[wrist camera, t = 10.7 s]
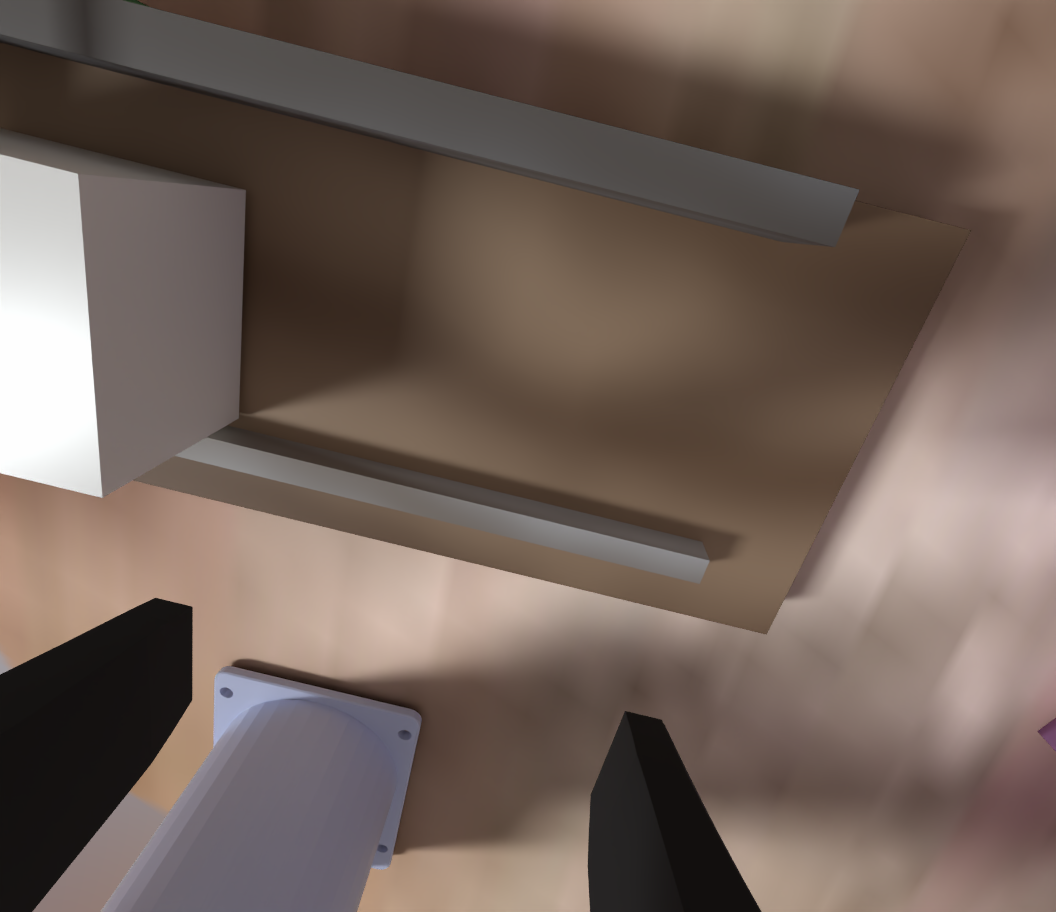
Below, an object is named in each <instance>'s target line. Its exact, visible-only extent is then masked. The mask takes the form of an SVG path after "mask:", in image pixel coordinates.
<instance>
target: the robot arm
mask: <svg viewBox="0 0 1056 912" xmlns="http://www.w3.org/2000/svg"><path fill="white" fill-rule="evenodd" d="M191 701H192V607H191V606H187V605H183V604H179V603H175V602H170V601H166V600H162V599H158V598H154V599H152V600H150V601H148V602H146V603H144V604H142V605H139V606H137V607H135V608H133V609H131V610H129V611H127V612H125V613H123V614H121V615H119V616H117V617H115V618H113V619H111V620H109V621H107V622H105V623H103V624H101V625H99V626H97V627H95V628H93V629H91V630H89V631H87V632H85V633H83V634H81V635H79V636H77V637H75V638H73V639H71V640H70V641H68V642H66V643H64V644H62V645H60V646H58V647H56V648H53V649H51V650H49V651H47V652H45V653H43V654H41V655H39V656H37V657H35V658H33V659H31V660H29V661H27V662H25V663H23V664H21V665H19V666H17V667H15V668H13V669H11V670H9V671H7V672H5V673H3V674H1V675H0V912H32V911H33V910H34V909H35V908H36V906H37V905H38V904H39V903H40V901H41V900H42V899H43V898H44V897H45V895H46V894H47V893H48V892H49V890H50V889H51V888H52V887H53V885H54V884H55V883H56V882H57V880H58V879H59V878H60V877H61V875H62V874H63V873H64V872H65V870H66V869H67V868H68V867H69V865H70V864H71V863H72V862H73V860H74V859H75V858H76V857H77V855H78V854H79V853H80V852H81V851H82V850H83V848H84V847H85V846H86V845H87V843H88V842H89V841H90V839H91V838H92V837H93V836H94V835H95V833H96V832H97V831H98V830H99V829H100V827H101V826H102V825H103V824H104V822H105V821H106V820H107V819H108V817H109V816H110V815H111V814H112V812H113V811H114V810H115V809H116V807H117V806H118V805H119V804H120V802H121V801H122V800H123V799H124V797H125V796H126V795H127V794H128V792H129V791H130V790H131V789H132V787H133V786H134V785H135V784H136V782H137V781H138V780H139V779H140V777H141V776H142V775H143V773H144V772H145V771H146V770H147V768H148V767H149V766H150V765H151V763H152V762H153V760H154V759H155V757H156V756H157V754H158V753H159V751H160V750H161V748H162V747H163V745H164V744H165V742H166V741H167V739H168V738H169V736H170V735H171V733H172V732H173V730H174V728H175V727H176V725H177V724H178V722H179V720H180V719H181V717H182V716H183V714H184V712H185V711H186V709H187V708H188V706H189V704H190V703H191ZM421 722H422V719H421V716H420V714H419V713H418V712H416V711H415V710H412V709H409V708H405V707H400V706H396V705H392V704H388V703H384V702H379V701H375V700H371V699H367V698H363V697H359V696H354V695H350V694H346V693H342V692H338V691H333V690H329V689H325V688H321V687H317V686H312V685H308V684H304V683H300V682H296V681H291V680H287V679H283V678H279V677H275V676H270V675H266V674H262V673H258V672H254V671H250V670H245V669H241V668H237V667H233V666H226V667H223V668H222V669H220V671H219V672H218V673H217V674H216V676H215V683H214V746H213V749H212V751H211V752H210V753H209V755H208V756H207V758H206V759H205V761H204V762H203V764H202V765H201V767H200V768H199V769H198V771H197V772H196V774H195V775H194V777H193V778H192V780H191V781H190V782H189V784H188V785H187V787H186V788H185V790H184V791H183V793H182V794H181V796H180V797H179V798H178V800H177V801H176V803H175V804H174V806H173V807H172V809H171V810H170V811H169V813H168V814H167V816H166V817H165V819H164V820H163V822H162V823H161V824H160V826H159V828H158V829H157V830H156V832H155V833H154V835H153V836H152V838H151V839H150V840H149V842H148V843H147V845H146V846H145V848H144V849H143V851H142V852H141V854H140V855H139V857H138V858H137V859H136V861H135V862H134V864H133V865H132V867H131V868H130V869H129V871H128V872H127V874H126V875H125V877H124V878H123V880H122V881H121V882H120V884H119V885H118V887H117V888H116V890H115V891H114V893H113V894H112V896H111V897H110V899H109V900H108V901H107V903H106V904H105V906H104V907H103V909H102V910H101V911H100V912H357V910H358V907H359V903H360V900H361V897H362V894H363V891H364V888H365V885H366V881H367V878H368V875H369V872H370V869H371V868H375V869H386V868H387V867H389V865H390V863H391V860H392V856H393V852H394V847H395V842H396V838H397V833H398V828H399V824H400V819H401V815H402V810H403V805H404V801H405V796H406V791H407V787H408V782H409V778H410V773H411V768H412V764H413V759H414V754H415V750H416V745H417V741H418V736H419V731H420V727H421ZM405 730H407V731H405ZM588 879H589V898H590V912H761V910H760V908H759V907H758V905H757V903H756V901H755V899H754V898H753V896H752V894H751V892H750V891H749V889H748V887H747V885H746V883H745V882H744V880H743V878H742V876H741V874H740V873H739V871H738V869H737V867H736V865H735V863H734V861H733V860H732V858H731V856H730V854H729V852H728V850H727V848H726V847H725V845H724V843H723V841H722V839H721V837H720V835H719V834H718V832H717V830H716V828H715V826H714V824H713V822H712V820H711V818H710V816H709V814H708V812H707V810H706V808H705V806H704V804H703V802H702V800H701V798H700V796H699V794H698V792H697V790H696V788H695V786H694V785H693V783H692V780H691V778H690V776H689V774H688V772H687V770H686V768H685V766H684V764H683V762H682V760H681V758H680V756H679V754H678V752H677V750H676V748H675V745H674V743H673V741H672V739H671V737H670V735H669V733H668V731H667V729H666V727H665V725H664V723H663V722H662V720H660V719H656V718H652V717H648V716H643V715H639V714H635V713H631V712H627V711H625V713H624V715H623V718H622V720H621V723H620V725H619V727H618V730H617V732H616V735H615V737H614V740H613V742H612V745H611V747H610V749H609V752H608V754H607V757H606V759H605V762H604V764H603V766H602V769H601V771H600V774H599V776H598V779H597V781H596V784H595V786H594V788H593V791H592V793H591V802H590V822H589V846H588Z"/></svg>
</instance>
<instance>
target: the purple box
mask: <svg viewBox="0 0 1056 912" xmlns="http://www.w3.org/2000/svg"><path fill="white" fill-rule="evenodd" d="M1038 732H1039V734H1040V735H1041V736H1042V737H1043V738H1044V739H1045V740H1046V741H1047V742H1048V744H1049V745H1050V746H1051V747H1052V748H1053V749H1054V750H1055V751H1056V718H1055V719H1054V720H1052V721H1051V722H1049V723H1048V724H1047V725H1045V726H1044V727H1043V728H1041V729H1040V730H1038Z"/></svg>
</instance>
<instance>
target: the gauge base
mask: <svg viewBox="0 0 1056 912" xmlns="http://www.w3.org/2000/svg"><path fill="white" fill-rule="evenodd" d="M0 128H2V129H6V130H10V131H14V132H18V133H22V134H26V135H30V136H34V137H38V138H42V139H46V140H50V141H54V142H58V143H61V144H65V145H69V146H73V147H77V148H81V149H85V150H89V151H93V152H97V153H101V154H105V155H109V156H113V157H117V158H121V159H125V160H129V161H133V162H137V163H141V164H145V165H149V166H153V167H157V168H161V169H164V170H168V171H172V172H176V173H180V174H184V175H188V176H192V177H196V178H200V179H204V180H208V181H212V182H216V183H220V184H224V185H228V186H232V187H236V188H240V189H244V190H246V202H245V235H244V267H243V299H242V332H241V364H240V396H239V419H237V420H235V421H233V422H232V423H230V424H228V425H227V426H225V427H223V428H221V429H220V430H218V431H216V432H215V433H213V434H211V435H209V436H208V437H206V438H204V439H203V440H201V441H199V442H197V443H196V444H194V445H192V446H191V447H189V448H187V449H185V450H184V451H182V452H180V453H178V454H177V455H175V456H173V457H172V458H170V459H168V460H166V461H165V462H163V463H161V464H160V465H158V466H156V467H154V468H153V469H151V470H149V471H148V472H146V473H144V474H142V475H141V476H139V477H137V478H136V479H134V481H138V482H142V483H146V484H150V485H154V486H158V487H162V488H167V489H171V490H175V491H179V492H183V493H187V494H191V495H195V496H199V497H204V498H208V499H212V500H216V501H220V502H224V503H228V504H232V505H236V506H241V507H245V508H249V509H253V510H257V511H261V512H265V513H269V514H273V515H278V516H282V517H286V518H290V519H294V520H298V521H302V522H306V523H310V524H315V525H319V526H323V527H327V528H331V529H335V530H339V531H343V532H347V533H352V534H356V535H360V536H364V537H368V538H372V539H376V540H380V541H384V542H389V543H393V544H397V545H401V546H405V547H409V548H413V549H417V550H421V551H426V552H430V553H434V554H438V555H442V556H446V557H450V558H454V559H458V560H463V561H467V562H471V563H475V564H479V565H483V566H487V567H491V568H495V569H500V570H504V571H508V572H512V573H516V574H520V575H524V576H528V577H532V578H537V579H541V580H545V581H549V582H553V583H557V584H561V585H565V586H569V587H574V588H578V589H582V590H586V591H590V592H594V593H598V594H602V595H606V596H611V597H615V598H619V599H623V600H627V601H631V602H635V603H639V604H643V605H648V606H652V607H656V608H660V609H664V610H668V611H672V612H676V613H680V614H685V615H689V616H693V617H697V618H701V619H705V620H709V621H713V622H717V623H722V624H726V625H730V626H734V627H738V628H742V629H746V630H750V631H754V632H759V633H763V634H767V632H768V630H769V628H770V626H771V625H772V623H773V621H774V619H775V617H776V615H777V613H778V611H779V609H780V607H781V605H782V603H783V601H784V599H785V597H786V595H787V593H788V591H789V589H790V587H791V585H792V583H793V581H794V579H795V577H796V575H797V573H798V571H799V569H800V567H801V565H802V563H803V561H804V559H805V557H806V555H807V553H808V551H809V549H810V548H811V546H812V544H813V542H814V540H815V538H816V536H817V534H818V532H819V530H820V528H821V526H822V524H823V522H824V520H825V518H826V516H827V514H828V512H829V510H830V508H831V506H832V504H833V502H834V500H835V498H836V496H837V494H838V492H839V490H840V488H841V486H842V484H843V482H844V480H845V478H846V476H847V474H848V472H849V471H850V469H851V467H852V465H853V463H854V461H855V459H856V457H857V455H858V453H859V451H860V449H861V447H862V445H863V443H864V441H865V439H866V437H867V435H868V433H869V431H870V429H871V427H872V425H873V423H874V421H875V419H876V417H877V415H878V413H879V411H880V409H881V407H882V405H883V403H884V401H885V399H886V397H887V395H888V394H889V392H890V390H891V388H892V386H893V384H894V382H895V380H896V378H897V376H898V374H899V372H900V370H901V368H902V366H903V364H904V362H905V360H906V358H907V356H908V354H909V352H910V350H911V348H912V346H913V344H914V342H915V340H916V338H917V336H918V334H919V332H920V330H921V328H922V326H923V324H924V322H925V320H926V318H927V317H928V315H929V313H930V311H931V309H932V307H933V305H934V303H935V301H936V299H937V297H938V295H939V293H940V291H941V289H942V287H943V285H944V283H945V281H946V279H947V277H948V275H949V273H950V271H951V269H952V267H953V265H954V263H955V261H956V259H957V257H958V255H959V253H960V251H961V249H962V247H963V245H964V243H965V241H966V240H967V238H968V236H969V234H970V232H971V230H968V229H964V228H960V227H956V226H952V225H948V224H945V223H941V222H937V221H933V220H929V219H925V218H921V217H917V216H913V215H909V214H906V213H902V212H898V211H894V210H890V209H886V208H882V207H878V206H874V205H870V204H867V203H863V202H859V201H855V199H856V197H857V195H858V192H859V189H855V188H851V187H847V186H843V185H839V184H835V183H832V182H828V181H824V180H820V179H816V178H812V177H808V176H804V175H800V174H797V173H793V172H789V171H785V170H781V169H777V168H773V167H769V166H765V165H762V164H758V163H754V162H750V161H746V160H742V159H738V158H734V157H730V156H727V155H723V154H719V153H715V152H711V151H707V150H703V149H699V148H695V147H692V146H688V145H684V144H680V143H676V142H672V141H668V140H664V139H660V138H657V137H653V136H649V135H645V134H641V133H637V132H633V131H629V130H625V129H621V128H618V127H614V126H610V125H606V124H602V123H598V122H594V121H590V120H586V119H583V118H579V117H575V116H571V115H567V114H563V113H559V112H555V111H551V110H548V109H544V108H540V107H536V106H532V105H528V104H524V103H520V102H516V101H513V100H509V99H505V98H501V97H497V96H493V95H489V94H485V93H481V92H478V91H474V90H470V89H466V88H462V87H458V86H454V85H450V84H446V83H443V82H439V81H435V80H431V79H427V78H423V77H419V76H415V75H411V74H408V73H404V72H400V71H396V70H392V69H388V68H384V67H380V66H376V65H372V64H369V63H365V62H361V61H357V60H353V59H349V58H345V57H341V56H337V55H334V54H330V53H326V52H322V51H318V50H314V49H310V48H306V47H302V46H299V45H295V44H291V43H287V42H283V41H279V40H275V39H271V38H267V37H264V36H260V35H256V34H252V33H248V32H244V31H240V30H236V29H232V28H229V27H225V26H221V25H217V24H213V23H209V22H205V21H201V20H197V19H194V18H190V17H186V16H182V15H178V14H174V13H170V12H166V11H162V10H159V9H155V8H151V7H149V6H147V5H145V4H143V3H141V2H139V1H137V0H0Z"/></svg>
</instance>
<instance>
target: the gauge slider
mask: <svg viewBox="0 0 1056 912" xmlns="http://www.w3.org/2000/svg"><path fill="white" fill-rule="evenodd" d="M245 202H246V190H244V189H240V188H236V187H232V186H228V185H224V184H220V183H216V182H212V181H208V180H204V179H200V178H196V177H192V176H188V175H184V174H180V173H176V172H172V171H168V170H164V169H161V168H157V167H153V166H149V165H145V164H141V163H137V162H133V161H129V160H125V159H121V158H117V157H113V156H109V155H105V154H101V153H97V152H93V151H89V150H85V149H81V148H77V147H73V146H69V145H65V144H61V143H58V142H54V141H50V140H46V139H42V138H38V137H34V136H30V135H26V134H22V133H18V132H14V131H10V130H6V129H2V128H0V473H2V474H6V475H11V476H15V477H19V478H23V479H27V480H31V481H35V482H39V483H43V484H48V485H52V486H56V487H60V488H64V489H68V490H72V491H76V492H81V493H85V494H89V495H93V496H97V497H101V498H103V497H105V496H106V495H108V494H110V493H111V492H113V491H115V490H117V489H118V488H120V487H122V486H124V485H125V484H127V483H129V482H130V481H132V480H134V479H136V478H137V477H139V476H141V475H142V474H144V473H146V472H148V471H149V470H151V469H153V468H154V467H156V466H158V465H160V464H161V463H163V462H165V461H166V460H168V459H170V458H172V457H173V456H175V455H177V454H178V453H180V452H182V451H184V450H185V449H187V448H189V447H191V446H192V445H194V444H196V443H197V442H199V441H201V440H203V439H204V438H206V437H208V436H209V435H211V434H213V433H215V432H216V431H218V430H220V429H221V428H223V427H225V426H227V425H228V424H230V423H232V422H233V421H235V420H237V419H239V396H240V364H241V332H242V299H243V267H244V235H245Z"/></svg>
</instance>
